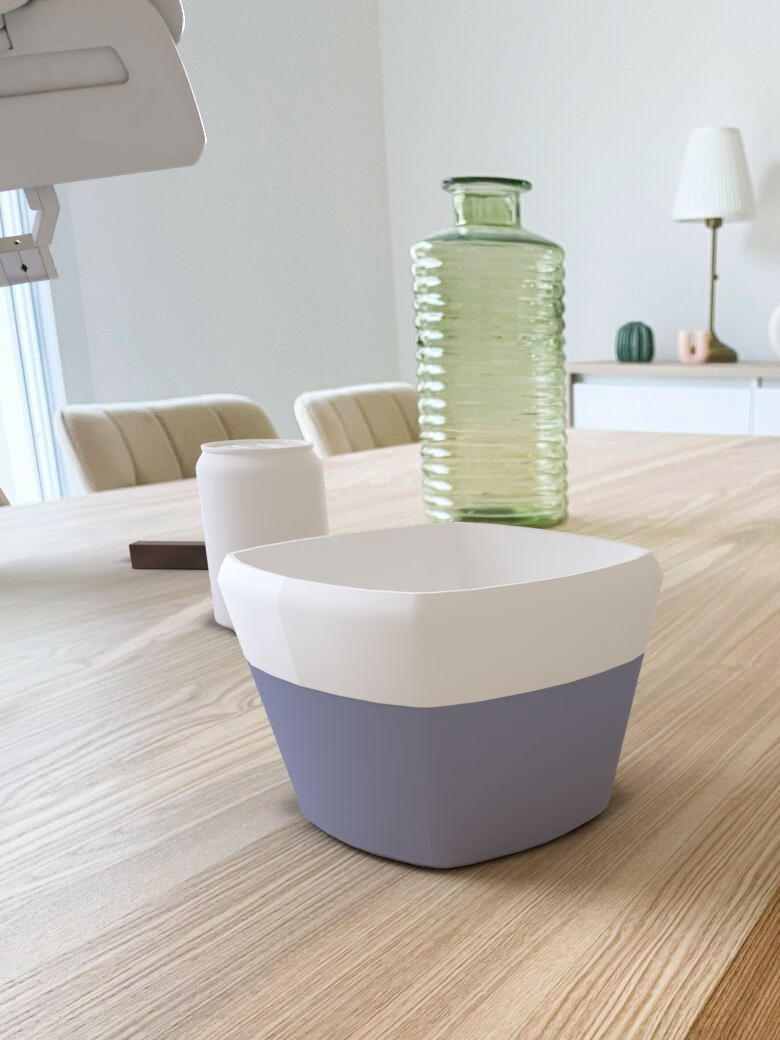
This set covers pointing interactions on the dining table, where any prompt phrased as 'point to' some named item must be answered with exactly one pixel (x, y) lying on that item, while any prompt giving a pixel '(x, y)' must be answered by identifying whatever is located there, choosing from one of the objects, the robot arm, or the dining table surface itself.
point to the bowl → (446, 679)
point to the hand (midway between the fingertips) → (29, 278)
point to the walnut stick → (169, 554)
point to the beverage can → (257, 499)
